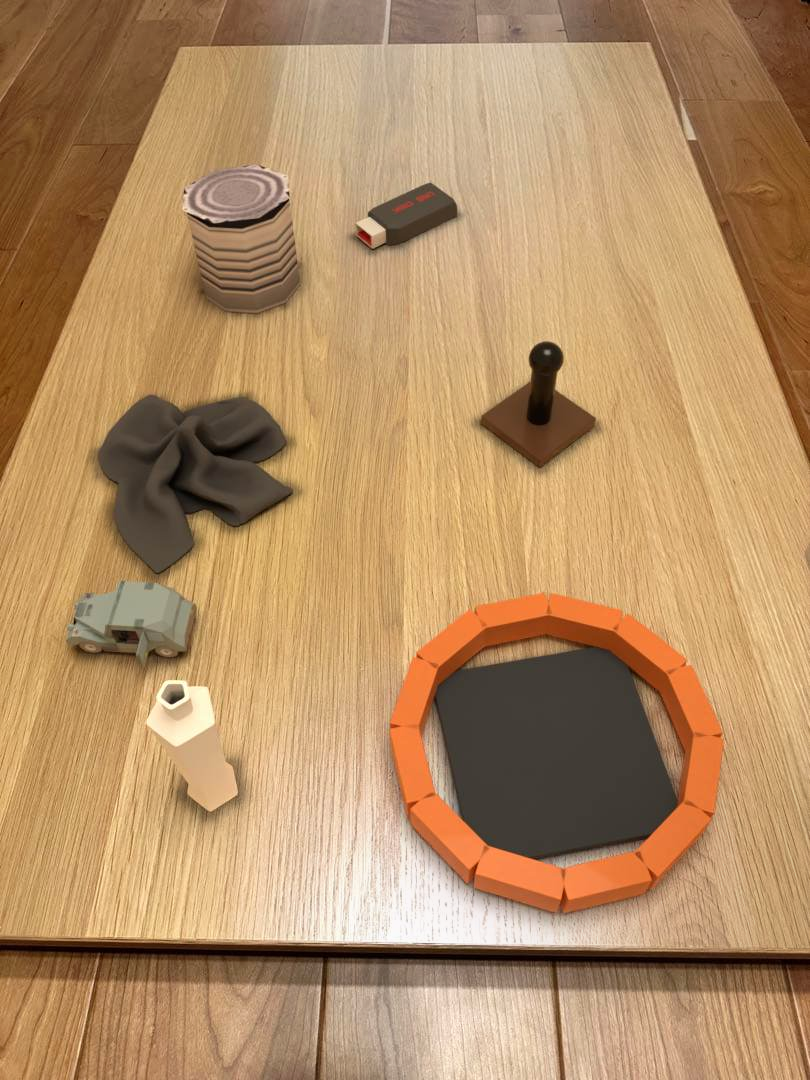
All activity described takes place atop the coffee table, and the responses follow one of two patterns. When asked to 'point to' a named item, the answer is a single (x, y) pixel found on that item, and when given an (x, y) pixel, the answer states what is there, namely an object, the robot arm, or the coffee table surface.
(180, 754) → the cream vase
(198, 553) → the coffee table surface
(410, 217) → the usb drive
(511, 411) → the post
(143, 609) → the toy car
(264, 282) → the can
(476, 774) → the mat
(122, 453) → the cloth
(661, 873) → the hoop
